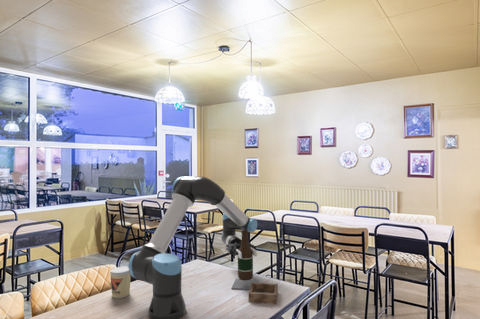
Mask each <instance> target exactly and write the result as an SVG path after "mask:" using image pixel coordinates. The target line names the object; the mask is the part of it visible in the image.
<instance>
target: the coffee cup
mask: <svg viewBox="0 0 480 319" xmlns="http://www.w3.org/2000/svg"><path fill="white" fill-rule="evenodd" d="M109 274H110V284H111V285H110V286H111V296H112V298H115V299H122V298H123V299H124V298H125V297H128V296H129V295H130V291H131V277H132V276H131V274H130V272H129V268H128V266H126V265H125V266H117V267H114V268H112V269H111V270H110V271H109Z"/></svg>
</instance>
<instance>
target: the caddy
mask: <svg viewBox="0 0 480 319" xmlns="http://www.w3.org/2000/svg"><path fill="white" fill-rule="evenodd" d="M278 286H279V284H278V283H267V282H266V283H265V282H258V283H252V284H251V287H250V290H248V303H254V304H269V305H270V304H271V305H277V304H278V295H279V292H278V291H279V290H278V289H279V288H278Z"/></svg>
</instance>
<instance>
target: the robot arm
mask: <svg viewBox="0 0 480 319" xmlns="http://www.w3.org/2000/svg"><path fill="white" fill-rule="evenodd" d="M171 193H172V194H171V199H172V201H171V203H170V204H169V206H168V208H167V209H166V210H165V213H164V215H163V216H162V218H161V220H160V222H159V224H158V226H157V227H156V229H155V231H154V232H153V235H152V236H151V238H150V239H149V242H148V243H146V244H144V245H143V246H142V247H141V249H140V250H139V251H136V252H134V253H133V254H132V255H131V257H130V259H129V260H128V266H127V267H128V268H129V272H130V274H131V277H132V278H134V279H136V280H137V281H139V282H144V283H147V284H150V285H152V298H151V302H150V304H149V307H148V317H149V319H180V318H182V317H184V316H185V314H186V311H187V305H186V301H185V299H184V297H183V293H182V269H183V266H182V260H181V258H180V257H179V256H178V255H177V254H174V253H167V252H166V251H167V249H168V248H169V245H170V243H171V241H172V240H173V238H174V236H175V233H176V231H177V230H178V228H179V226H180V225H181V222H182V221H183V218H184V217H185V215H186V212H187V211H188V209H189V208H192V207H193V206H194V204H195V202H196V201H202V202H206V203H209V205H211V206H215V207H216V208H217V209H218V210H220V211H221V212H222V213H223V214H222V234H221V237H220V239H221V241H222V243H223V244H224V245H225V250H226V251H227V252H228V254H229V255H233V257H236V256H237V258H238V257H239V258H242V253H241V252H240V251H239V249H240V247H241V241H242V238H239V237H238V236H237V235H236V232H237V231H241V232H242V231H243V230H247V231H248V233H255V232H256V230H257V228H258V221H257V219H256V218H251V217H249V216H248V215H247V214H246V213H245V212H244V211H243V210H242V209H240V208H239V206H237V204H236V203H234V202H233V200H231V199H230V198H229V197H228V195H226V192H225V190H224V189H223V188H222V187H221V186H220V185H219V184H218V183H216V182H215V181H214V180H211V179H210V178H208V177H206V176H190V175H185V176H179V177H177V178H176V179H175V180H174V182H173V183H172V186H171ZM249 247H250V249H251V250H252V254H253V257H257V256H258V255H257V254H258V252H257V251H258V250H257V245H254V244H251V242H249Z"/></svg>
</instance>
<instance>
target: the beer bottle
mask: <svg viewBox="0 0 480 319" xmlns="http://www.w3.org/2000/svg"><path fill="white" fill-rule="evenodd" d="M241 240H242V241H241V247H240V249H239V251H240V252H241V253H242V258H239V257H238V256H237V277H238V279H240V280H244V281H245V280H253V278H254V260H253V258H254V255H253V254H252V250H251V249H250V247H249V243H250V242H249V232H248V231H247V230H243V231H241Z"/></svg>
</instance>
